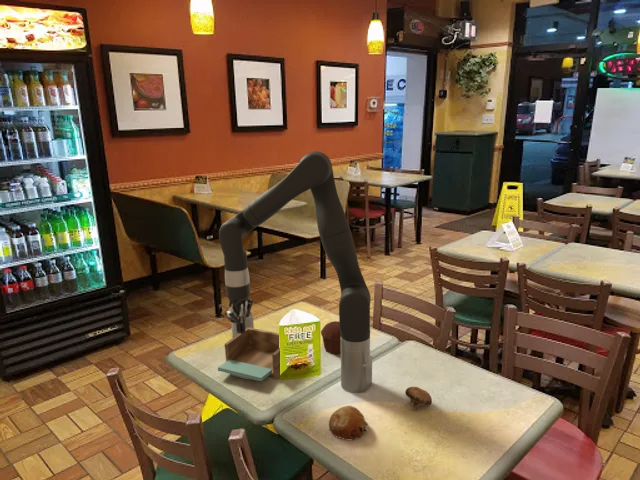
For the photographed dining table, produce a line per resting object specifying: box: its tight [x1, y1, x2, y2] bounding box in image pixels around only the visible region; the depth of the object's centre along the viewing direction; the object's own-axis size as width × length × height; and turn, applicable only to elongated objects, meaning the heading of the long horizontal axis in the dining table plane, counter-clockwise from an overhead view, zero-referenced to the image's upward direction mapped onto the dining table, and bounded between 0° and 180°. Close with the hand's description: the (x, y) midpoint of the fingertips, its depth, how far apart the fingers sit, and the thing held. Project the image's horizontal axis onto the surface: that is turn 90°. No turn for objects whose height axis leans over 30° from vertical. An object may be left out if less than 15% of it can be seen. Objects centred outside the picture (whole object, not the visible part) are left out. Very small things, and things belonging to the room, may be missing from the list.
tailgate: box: [217, 360, 272, 382], centre depth 156 cm, size 17×2×7 cm
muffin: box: [320, 320, 341, 355], centre depth 174 cm, size 12×11×10 cm
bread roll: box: [328, 405, 369, 440], centre depth 130 cm, size 10×10×8 cm
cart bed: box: [224, 327, 281, 380], centre depth 165 cm, size 20×14×9 cm
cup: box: [230, 310, 255, 339], centre depth 184 cm, size 8×8×10 cm
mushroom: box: [404, 386, 433, 411], centre depth 140 cm, size 8×8×6 cm
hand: (241, 332), depth 152 cm, fingers closed
